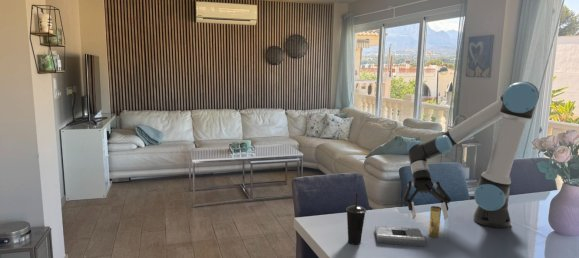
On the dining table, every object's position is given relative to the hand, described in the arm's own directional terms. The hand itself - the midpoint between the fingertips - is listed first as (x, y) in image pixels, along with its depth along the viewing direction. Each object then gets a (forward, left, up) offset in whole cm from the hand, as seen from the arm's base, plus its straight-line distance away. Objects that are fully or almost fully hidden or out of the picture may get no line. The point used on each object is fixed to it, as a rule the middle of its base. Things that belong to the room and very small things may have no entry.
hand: (430, 217), depth 173 cm
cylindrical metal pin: (-2, +2, -7) cm, 7 cm away
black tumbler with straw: (+31, +15, -7) cm, 35 cm away
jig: (+13, +8, -7) cm, 17 cm away
